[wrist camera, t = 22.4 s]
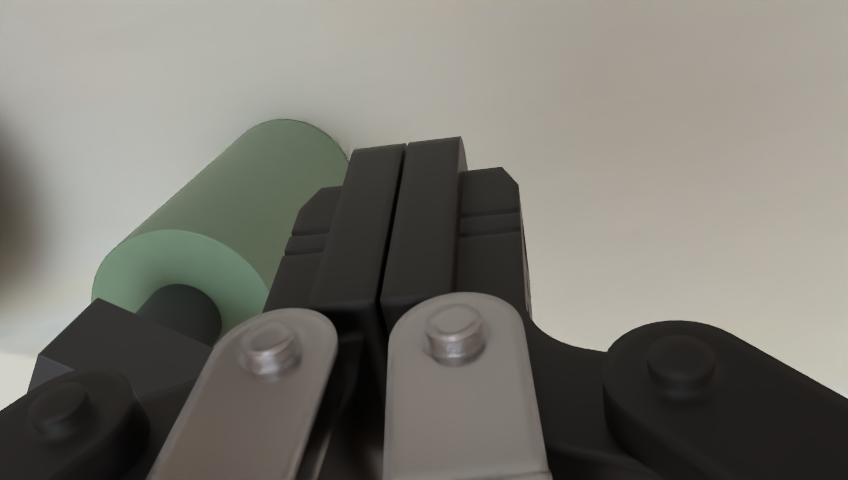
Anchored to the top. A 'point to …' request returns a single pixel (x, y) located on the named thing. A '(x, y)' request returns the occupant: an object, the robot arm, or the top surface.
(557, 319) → the top surface
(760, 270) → the top surface
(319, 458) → the robot arm
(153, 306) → the spray bottle
